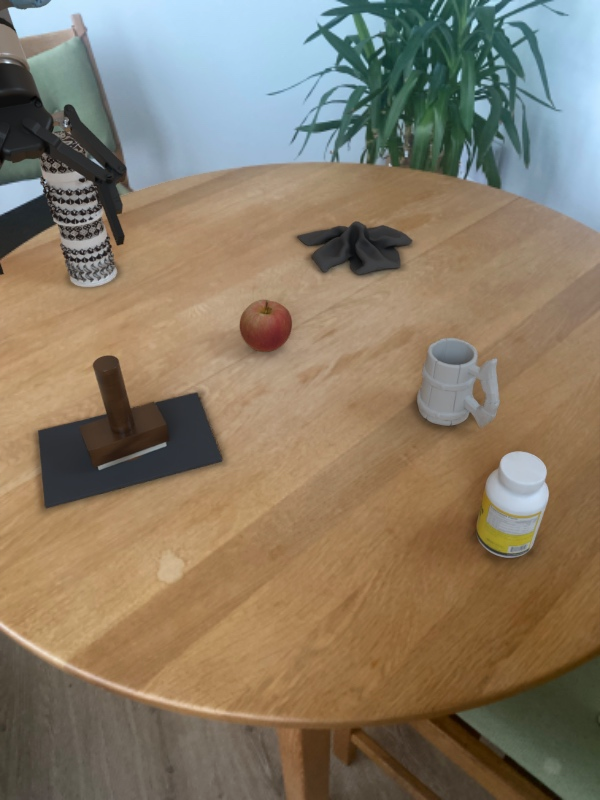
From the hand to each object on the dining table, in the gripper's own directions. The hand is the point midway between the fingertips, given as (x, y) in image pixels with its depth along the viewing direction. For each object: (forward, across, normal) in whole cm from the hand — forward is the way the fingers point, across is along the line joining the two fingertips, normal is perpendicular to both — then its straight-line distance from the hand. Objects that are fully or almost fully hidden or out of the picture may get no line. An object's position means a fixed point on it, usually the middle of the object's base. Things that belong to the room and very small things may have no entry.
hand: (62, 256), depth 76 cm
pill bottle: (+47, -34, +11) cm, 59 cm away
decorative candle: (-10, -8, -47) cm, 49 cm away
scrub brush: (+22, -1, -13) cm, 26 cm away
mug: (+34, -42, -3) cm, 54 cm away
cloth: (+1, -54, -36) cm, 65 cm away
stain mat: (+22, -1, -14) cm, 26 cm away
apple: (+14, -27, -22) cm, 38 cm away
